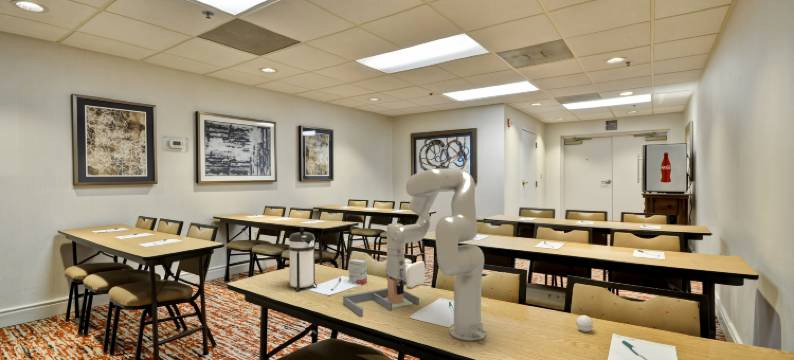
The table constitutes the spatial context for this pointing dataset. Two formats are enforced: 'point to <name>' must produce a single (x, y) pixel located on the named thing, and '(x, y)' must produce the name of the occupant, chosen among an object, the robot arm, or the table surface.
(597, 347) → the table surface
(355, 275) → the ink box
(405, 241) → the robot arm
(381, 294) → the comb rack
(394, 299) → the terracotta block
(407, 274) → the cable organizer
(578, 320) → the white rounded lump
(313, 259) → the coffee press
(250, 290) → the table surface
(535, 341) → the table surface
